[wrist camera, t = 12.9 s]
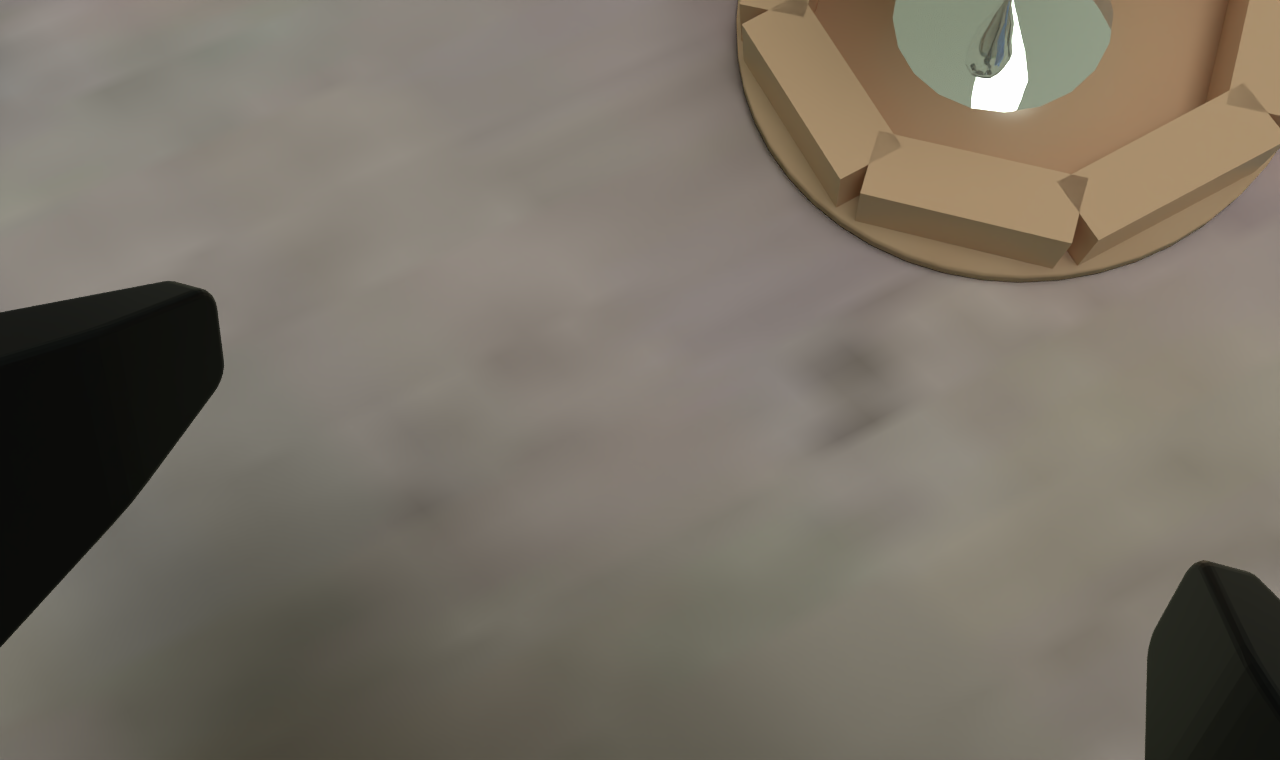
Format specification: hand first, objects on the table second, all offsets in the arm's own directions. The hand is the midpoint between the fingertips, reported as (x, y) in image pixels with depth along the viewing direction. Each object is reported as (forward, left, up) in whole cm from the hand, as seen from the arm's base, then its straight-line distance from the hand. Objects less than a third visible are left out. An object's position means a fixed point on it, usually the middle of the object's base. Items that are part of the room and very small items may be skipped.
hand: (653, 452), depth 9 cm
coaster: (+8, -12, -14) cm, 20 cm away
